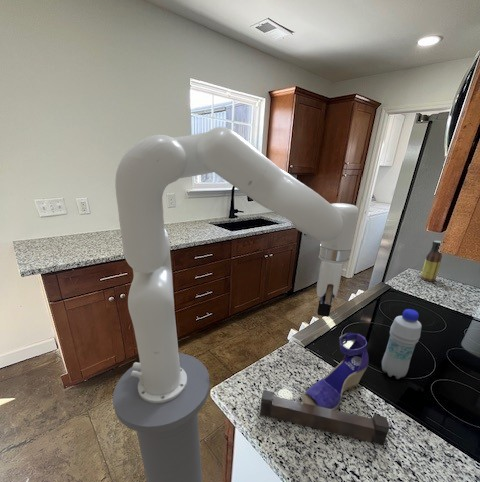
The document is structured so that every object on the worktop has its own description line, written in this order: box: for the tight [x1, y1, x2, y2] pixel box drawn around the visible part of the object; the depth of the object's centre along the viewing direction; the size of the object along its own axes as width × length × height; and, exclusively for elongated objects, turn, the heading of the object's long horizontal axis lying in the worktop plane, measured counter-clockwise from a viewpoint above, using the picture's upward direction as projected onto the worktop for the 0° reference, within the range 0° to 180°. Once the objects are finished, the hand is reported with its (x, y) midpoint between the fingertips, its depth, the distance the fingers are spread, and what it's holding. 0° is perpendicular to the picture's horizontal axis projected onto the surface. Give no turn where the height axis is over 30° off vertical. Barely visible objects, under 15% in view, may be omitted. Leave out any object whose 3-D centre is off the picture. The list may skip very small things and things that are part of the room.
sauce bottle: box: [420, 240, 443, 283], centre depth 129 cm, size 7×6×20 cm
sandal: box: [301, 332, 370, 411], centre depth 63 cm, size 8×20×15 cm, turn 114°
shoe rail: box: [260, 389, 390, 446], centre depth 58 cm, size 26×2×5 cm, turn 75°
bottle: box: [381, 308, 423, 380], centre depth 70 cm, size 7×7×20 cm
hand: (323, 314), depth 75 cm, fingers closed
